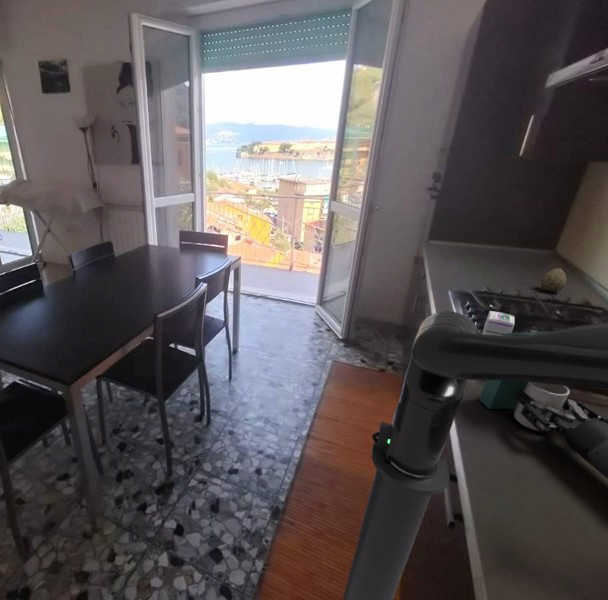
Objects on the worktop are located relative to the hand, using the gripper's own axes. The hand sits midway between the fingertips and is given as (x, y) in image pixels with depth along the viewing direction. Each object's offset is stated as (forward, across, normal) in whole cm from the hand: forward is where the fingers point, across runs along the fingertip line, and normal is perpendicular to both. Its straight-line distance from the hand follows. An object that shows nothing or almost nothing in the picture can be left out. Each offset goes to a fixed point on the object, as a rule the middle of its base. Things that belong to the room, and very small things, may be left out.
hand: (533, 393), depth 79 cm
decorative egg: (+65, -66, +6) cm, 93 cm away
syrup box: (+21, -7, +7) cm, 23 cm away
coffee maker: (+1, 0, +7) cm, 7 cm away
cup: (-2, 0, +6) cm, 6 cm away
